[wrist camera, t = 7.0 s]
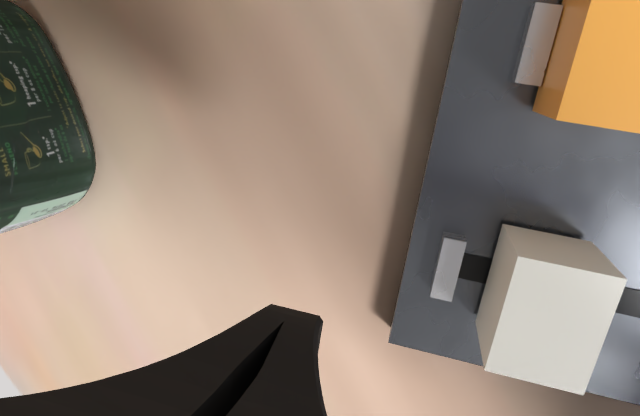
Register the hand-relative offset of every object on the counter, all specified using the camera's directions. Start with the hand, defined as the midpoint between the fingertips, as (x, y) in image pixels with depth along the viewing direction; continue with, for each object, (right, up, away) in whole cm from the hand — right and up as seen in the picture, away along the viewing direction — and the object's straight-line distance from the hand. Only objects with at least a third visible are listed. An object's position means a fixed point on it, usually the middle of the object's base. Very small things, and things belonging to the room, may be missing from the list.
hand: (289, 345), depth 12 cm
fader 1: (+10, +8, +3) cm, 13 cm away
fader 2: (+8, +1, +6) cm, 10 cm away
